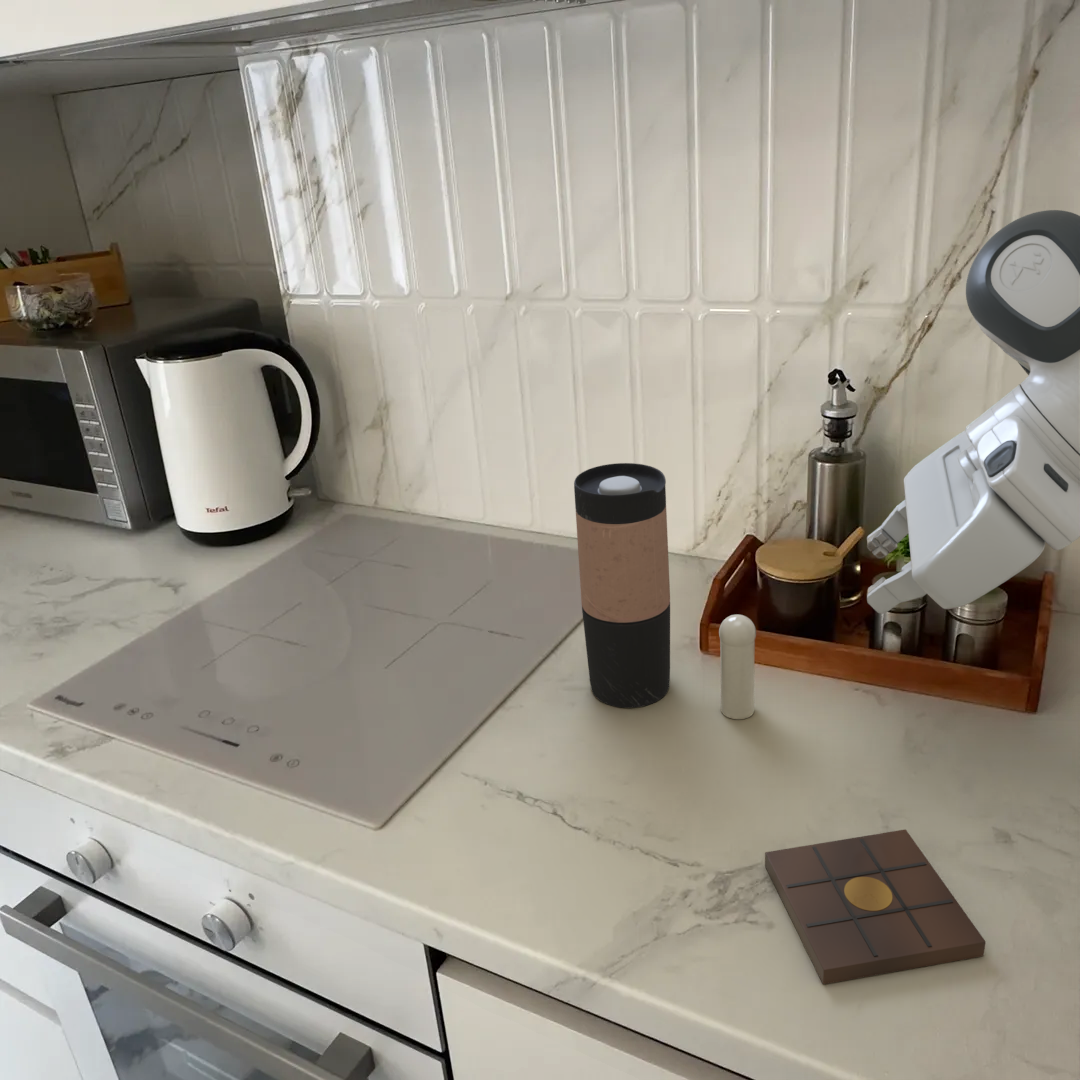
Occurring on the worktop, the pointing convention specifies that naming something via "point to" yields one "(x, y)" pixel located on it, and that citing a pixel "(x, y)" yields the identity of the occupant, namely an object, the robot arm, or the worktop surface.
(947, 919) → the board
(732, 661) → the white round-top peg
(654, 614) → the travel mug
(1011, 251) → the robot arm
